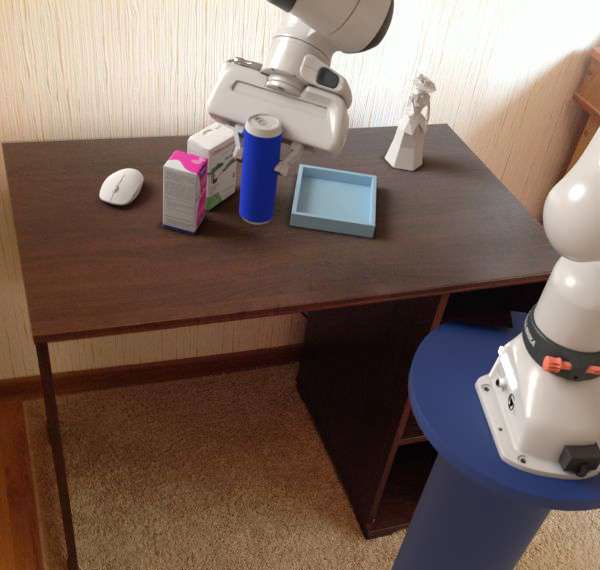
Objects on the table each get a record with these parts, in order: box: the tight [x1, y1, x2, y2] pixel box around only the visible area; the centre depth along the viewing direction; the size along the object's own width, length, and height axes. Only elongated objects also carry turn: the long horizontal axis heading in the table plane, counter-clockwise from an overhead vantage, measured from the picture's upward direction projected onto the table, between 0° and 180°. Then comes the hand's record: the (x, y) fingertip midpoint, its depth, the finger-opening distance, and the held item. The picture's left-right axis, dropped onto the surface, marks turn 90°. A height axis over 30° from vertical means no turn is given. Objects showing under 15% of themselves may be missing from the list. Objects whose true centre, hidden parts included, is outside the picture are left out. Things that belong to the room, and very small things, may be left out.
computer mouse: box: [98, 167, 145, 207], centre depth 130 cm, size 6×10×3 cm, turn 164°
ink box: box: [186, 122, 238, 212], centre depth 130 cm, size 9×5×12 cm, turn 149°
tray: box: [289, 163, 378, 239], centre depth 136 cm, size 17×15×2 cm
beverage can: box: [238, 113, 282, 226], centre depth 107 cm, size 5×5×15 cm
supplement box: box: [162, 149, 208, 235], centre depth 124 cm, size 6×6×12 cm
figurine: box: [384, 72, 437, 172], centre depth 144 cm, size 7×8×18 cm
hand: (258, 167), depth 106 cm, fingers closed on beverage can, 5 cm apart
